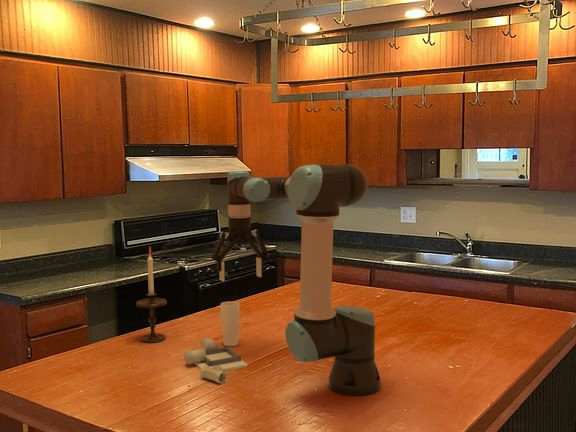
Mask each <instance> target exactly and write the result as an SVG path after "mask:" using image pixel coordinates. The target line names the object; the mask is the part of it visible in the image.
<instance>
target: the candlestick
mask: <svg viewBox="0 0 576 432" xmlns="http://www.w3.org/2000/svg"><path fill="white" fill-rule="evenodd" d="M148 249H149V250H148V257H147V283H148V293H147V294H145V296H147V297H148V298H143V299H142V298H141V299H139V300H137V301H136V306H137V307H138V308H142V309H143V308H144V309H149V317H150V318H148V319H147V320H148V323H150V325H149V326H148V327H149V328H150V333H149V334H144V335H142V336H141V337H139V338H140V342H141V343H143V344H158V343H162V342H163V341H165V340H166V335H165V334H163V333H156V331H155V328H156V327H157V326H156V325H157V324H156V322H157V318H155V309H156V308H160V307H164V306H166V305H167V304H168V303H167V302H168V301H167V299H166V298H161V297H155V296H156V295H157V294H158V293H155V288H154V287H155V285H154V282H155V281H154V264H153V263H154V260H153V257H152V255H151V254H152V249H151V245H150V246H149V247H148Z"/></svg>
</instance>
